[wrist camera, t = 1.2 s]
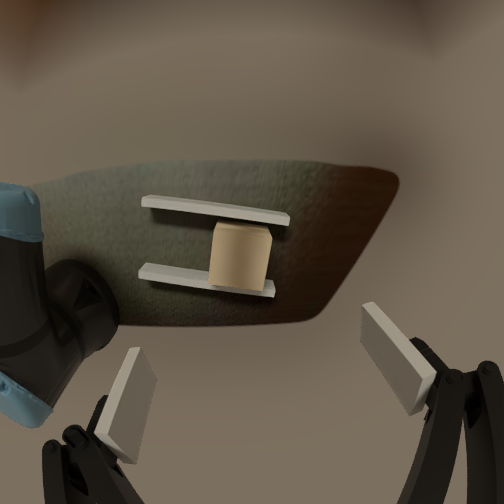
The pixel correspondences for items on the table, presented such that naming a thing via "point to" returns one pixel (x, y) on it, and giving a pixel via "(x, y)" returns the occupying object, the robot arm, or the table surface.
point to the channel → (212, 208)
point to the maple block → (239, 255)
